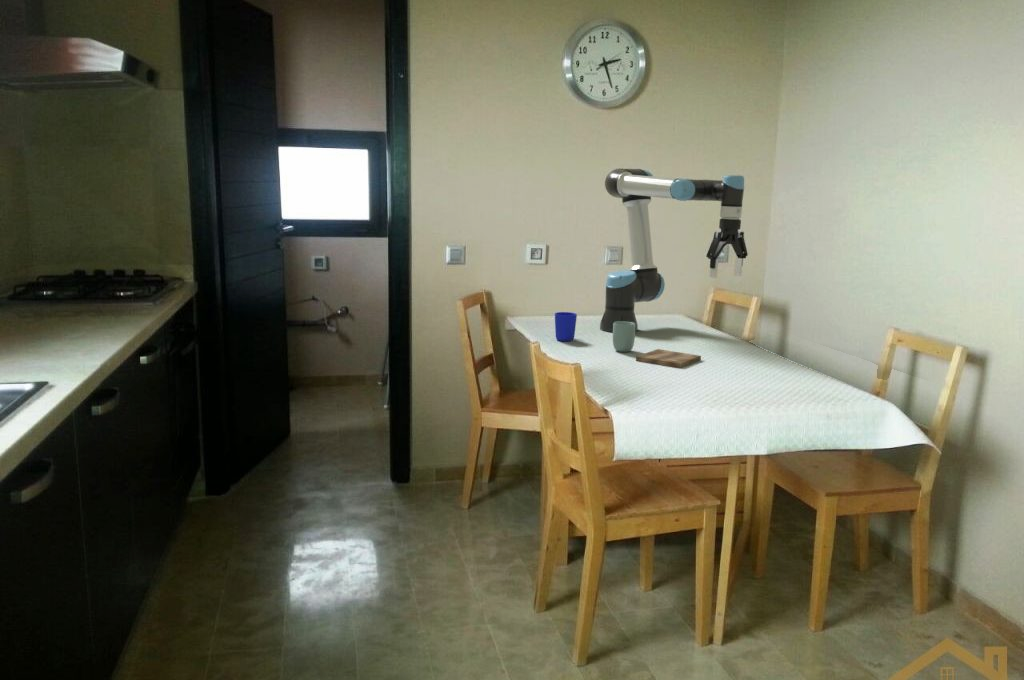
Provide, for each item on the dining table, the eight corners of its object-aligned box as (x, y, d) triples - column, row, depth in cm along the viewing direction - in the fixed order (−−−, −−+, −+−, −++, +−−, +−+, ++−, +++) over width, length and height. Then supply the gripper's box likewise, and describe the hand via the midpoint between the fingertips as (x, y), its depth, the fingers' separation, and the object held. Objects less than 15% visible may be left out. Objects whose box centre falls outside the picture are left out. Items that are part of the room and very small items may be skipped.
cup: (633, 353, 277) (635, 325, 276) (611, 352, 279) (612, 324, 277) (634, 349, 285) (636, 321, 283) (612, 348, 286) (614, 320, 285)
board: (635, 360, 267) (636, 356, 267) (657, 353, 279) (658, 348, 279) (680, 368, 258) (680, 363, 257) (700, 360, 270) (701, 355, 270)
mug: (576, 336, 306) (577, 310, 304) (575, 342, 295) (576, 315, 293) (554, 335, 307) (555, 310, 305) (553, 341, 295) (554, 315, 293)
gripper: (715, 219, 280) (710, 279, 285) (760, 218, 295) (755, 276, 299) (699, 217, 286) (694, 276, 291) (744, 217, 301) (739, 273, 305)
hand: (725, 276), depth 295 cm, fingers open, 13 cm apart
